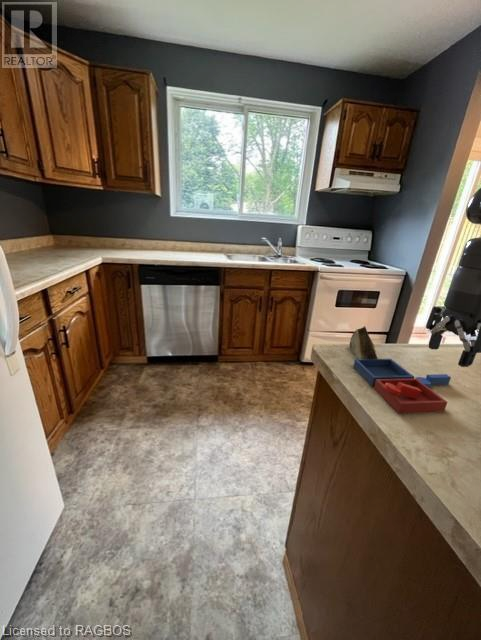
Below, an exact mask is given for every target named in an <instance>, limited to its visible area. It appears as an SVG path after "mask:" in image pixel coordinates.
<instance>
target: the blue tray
mask: <svg viewBox="0 0 481 640" xmlns="http://www.w3.org/2000/svg"><path fill="white" fill-rule="evenodd" d="M353 369H354V370H355V371H356V372H357V373H358V374H359V375H360V376H361V377H362V378H363V379H364V380H365V381H366V382H367V383H368V384H369V385H370V386H371V387H374V385H375V381H376V379H413V378H414V379H415V376H414V375H413V374H411V373H410V372H409V371H408V370H407V369H405V368H404V367H402V366H401V365H400V364H398V363H397V362H396V361H395V360H393V359H392V358H377V359H358V358H355V359H354V361H353Z"/></svg>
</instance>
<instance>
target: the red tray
mask: <svg viewBox="0 0 481 640" xmlns="http://www.w3.org/2000/svg"><path fill="white" fill-rule="evenodd" d="M399 382H400V383H404V384H407V385H410V386H414V387H417V388H419V389H420V390H421V391H422V392H421V394H420V395H419V397H418V398H417V399H414V398H410V397H407V396H403V395H400V394H399V395H394V394H392V393H390V392H388V391H387V390H386V389H385V388H384V385H385V383H390V384H393V385H395V386H397V384H398V383H399ZM373 389H374V390H375V391H376V392H377V393H378V394H379V395H380V396H381V398H383V399H384V400H385V401H386V403H387V404H389V405H390V407H392V408H393V410H395V412H396V413H397V414H418V413H441V412H443V413H444V412H445V410H446V407H447V404H448V401H447V400H446V399H444V398H443V397H442V396H440V395H439V394H438V393H436V392H435V391H434V390H433V389H431V387H427V386H426V385H425V384H423V383H422V382H421V381H419V380H418V379H417V378H416V377H414V378H413V379H376V381H375V385H374V386H373Z"/></svg>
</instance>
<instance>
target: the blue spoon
mask: <svg viewBox="0 0 481 640" xmlns="http://www.w3.org/2000/svg"><path fill="white" fill-rule="evenodd" d="M415 378H417V379H418V380H419V381H421V382H422V383H423V384H425V385H426V386H427V387H429V388H431V386H449V384H450V382H451V378H452V376H450V375H448V373H441V374H439V373H438V374H435V373H433V374H426V377H422V376H416V377H415Z"/></svg>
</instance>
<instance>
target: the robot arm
mask: <svg viewBox="0 0 481 640" xmlns="http://www.w3.org/2000/svg"><path fill="white" fill-rule="evenodd" d="M465 217H466V219H467V220H468V222H469V223H471V224H474V225H479V226H481V187H480V188H478V189H477V190H476V191H475V192H474V194H473V195H472V196H471V198H470V199H469V201H468V203H467V205H466V209H465ZM425 329H427V330H429V331H430V338H429V341H428V349H430V350H438V349H440V346H441V343H442V339H443V338H444V337H443V334H444V333H446V332H449V333H453V335H455V336H458V337H459V341H460V342H462V345H463V350H462V352H461V355H460V358H459V360H458V363H457V365H458V366H459V367H460V368H461V367H462V368H468V367H471V366H472V365H473V363H474V360H475V358H476V356H477V354H481V236H479V237H478V236H477V237H473V238H470V239H469V240H467V241H466V242H465V244H464V248H463V249H462V253H461V255H460V259H459V261H458V265H457V267H456V270H455V271H454V273H453V274H452V279H451V280H450V285H449V287H448V291H447V294H446V297H445V300H444V302H443V306H441V305H440V306H439V305H435V306H433V307H432V308H431V311H430V314H429V317H428V319H427V321H426V324H425ZM469 335H470V336H469Z"/></svg>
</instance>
